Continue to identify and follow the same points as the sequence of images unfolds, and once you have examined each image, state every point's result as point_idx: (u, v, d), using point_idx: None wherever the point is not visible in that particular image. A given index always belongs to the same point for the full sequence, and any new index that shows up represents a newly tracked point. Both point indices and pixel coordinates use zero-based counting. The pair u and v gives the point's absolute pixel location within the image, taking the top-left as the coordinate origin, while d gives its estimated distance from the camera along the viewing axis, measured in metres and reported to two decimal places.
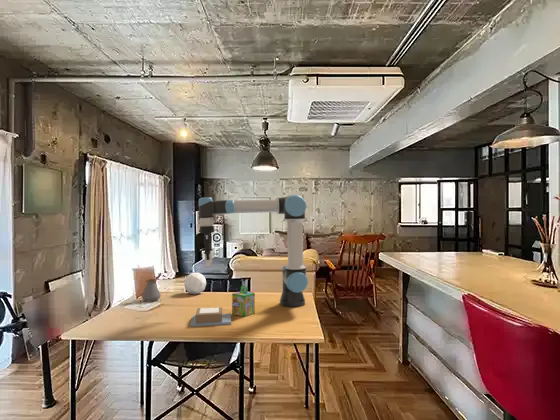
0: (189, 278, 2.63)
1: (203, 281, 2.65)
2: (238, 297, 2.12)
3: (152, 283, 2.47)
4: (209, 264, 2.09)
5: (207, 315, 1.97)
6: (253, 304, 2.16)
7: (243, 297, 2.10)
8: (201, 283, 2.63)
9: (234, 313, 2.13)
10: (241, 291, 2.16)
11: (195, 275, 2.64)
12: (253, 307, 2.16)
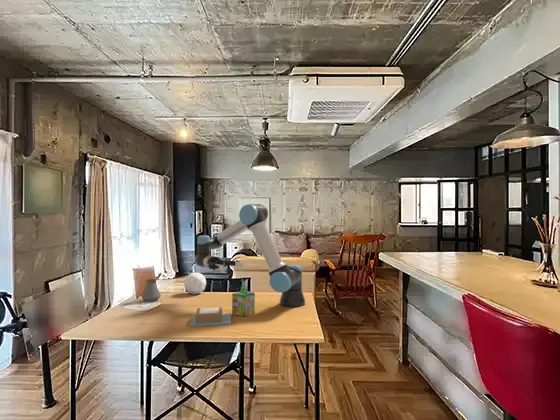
0: (189, 278, 2.63)
1: (203, 281, 2.65)
2: (238, 297, 2.12)
3: (152, 283, 2.47)
4: (221, 266, 2.18)
5: (207, 315, 1.97)
6: (253, 304, 2.16)
7: (243, 297, 2.10)
8: (201, 283, 2.63)
9: (234, 313, 2.13)
10: (241, 291, 2.16)
11: (195, 275, 2.64)
12: (253, 307, 2.16)
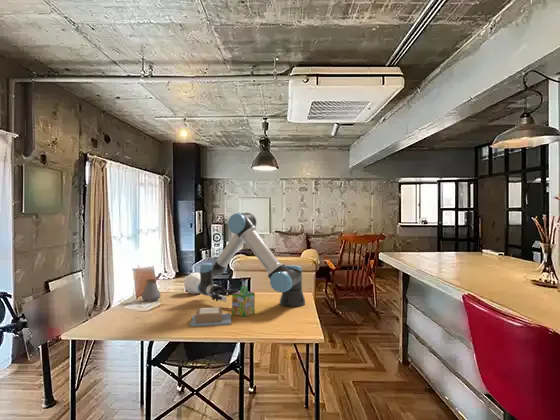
0: (189, 278, 2.63)
1: None
2: (238, 297, 2.12)
3: (152, 283, 2.47)
4: (224, 297, 2.16)
5: (207, 315, 1.97)
6: (253, 304, 2.16)
7: (243, 297, 2.10)
8: None
9: (234, 313, 2.13)
10: (241, 291, 2.16)
11: (195, 275, 2.64)
12: (253, 307, 2.16)
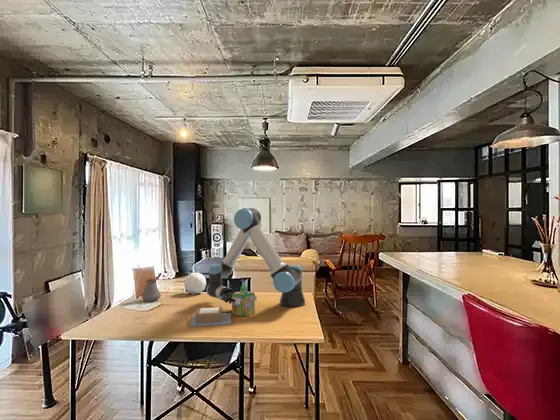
0: (189, 278, 2.63)
1: (203, 281, 2.65)
2: (238, 297, 2.12)
3: (152, 283, 2.47)
4: (238, 300, 2.09)
5: (207, 315, 1.97)
6: (253, 304, 2.15)
7: (243, 297, 2.10)
8: (201, 283, 2.63)
9: (234, 313, 2.13)
10: (241, 291, 2.16)
11: (195, 275, 2.64)
12: (253, 307, 2.16)
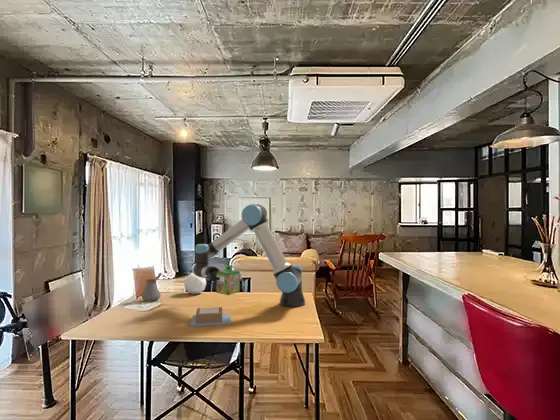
0: (189, 278, 2.63)
1: (203, 281, 2.65)
2: (222, 275, 2.08)
3: (152, 283, 2.47)
4: (222, 278, 2.05)
5: (207, 315, 1.97)
6: (238, 283, 2.12)
7: (227, 275, 2.06)
8: (201, 283, 2.63)
9: (218, 291, 2.10)
10: (226, 269, 2.13)
11: (195, 275, 2.64)
12: (238, 286, 2.12)
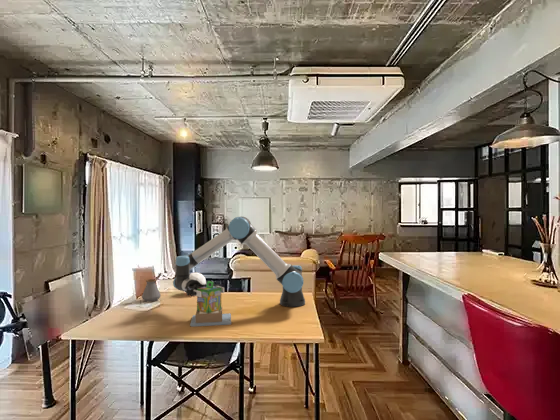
0: None
1: (203, 281, 2.65)
2: (202, 292, 2.00)
3: (152, 283, 2.47)
4: (199, 293, 1.96)
5: (207, 315, 1.97)
6: (219, 300, 2.03)
7: (207, 292, 1.98)
8: (201, 283, 2.63)
9: (199, 309, 2.01)
10: (207, 286, 2.04)
11: (195, 275, 2.64)
12: (219, 303, 2.03)
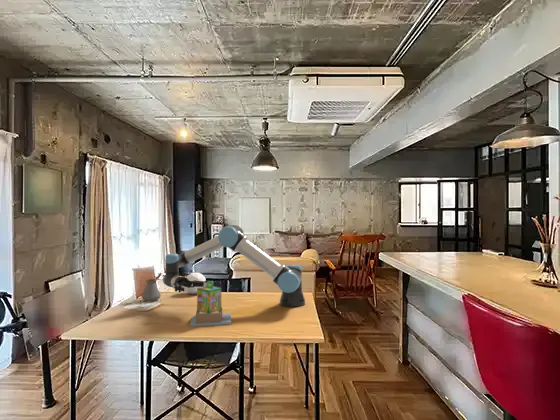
0: (189, 278, 2.63)
1: None
2: (202, 292, 2.00)
3: (152, 283, 2.47)
4: (186, 289, 2.06)
5: (207, 315, 1.97)
6: (219, 300, 2.03)
7: (207, 292, 1.98)
8: None
9: (199, 309, 2.01)
10: (207, 286, 2.04)
11: (195, 275, 2.64)
12: (219, 303, 2.03)
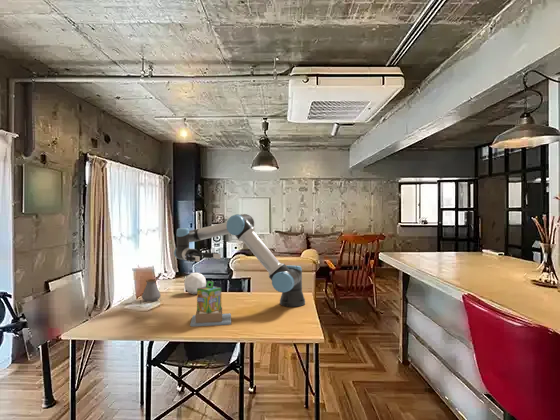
0: (189, 278, 2.63)
1: (203, 281, 2.65)
2: (202, 292, 2.00)
3: (152, 283, 2.47)
4: (197, 257, 2.18)
5: (207, 315, 1.97)
6: (219, 300, 2.03)
7: (207, 292, 1.98)
8: (201, 283, 2.63)
9: (199, 309, 2.01)
10: (207, 286, 2.04)
11: (195, 275, 2.64)
12: (219, 303, 2.03)
